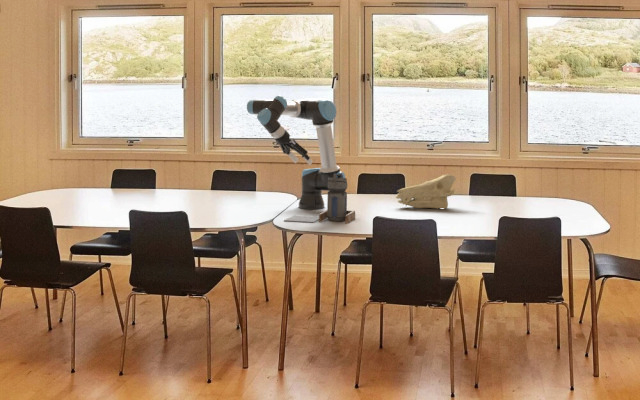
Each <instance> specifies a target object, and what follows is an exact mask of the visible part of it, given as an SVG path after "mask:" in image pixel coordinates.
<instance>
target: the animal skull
mask: <svg viewBox="0 0 640 400" xmlns="http://www.w3.org/2000/svg"><path fill="white" fill-rule="evenodd" d="M456 179H457V177H456V176H455V175H452V174H449V173H448V174H446V173H445V174H442V175H441V176H439V177H437V178H434V179H431V180H427V181H424V182H422V183H421V184H416V185H411V186H406V187H403V188H400V189H398V190H396V192H398V193H397V194H396V195H395V199H400V200H397V203H398V204H402V205H403V206H404V205H405V207H407V206H409V207H412V208H415V209H427V208H428V209H429V208H431V209H438V208H446V209H447V208H448V205H449V203H448V197H452V196H453V195H454V192H455V189H452V187H453V184H454V182H455V181H456Z"/></svg>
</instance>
